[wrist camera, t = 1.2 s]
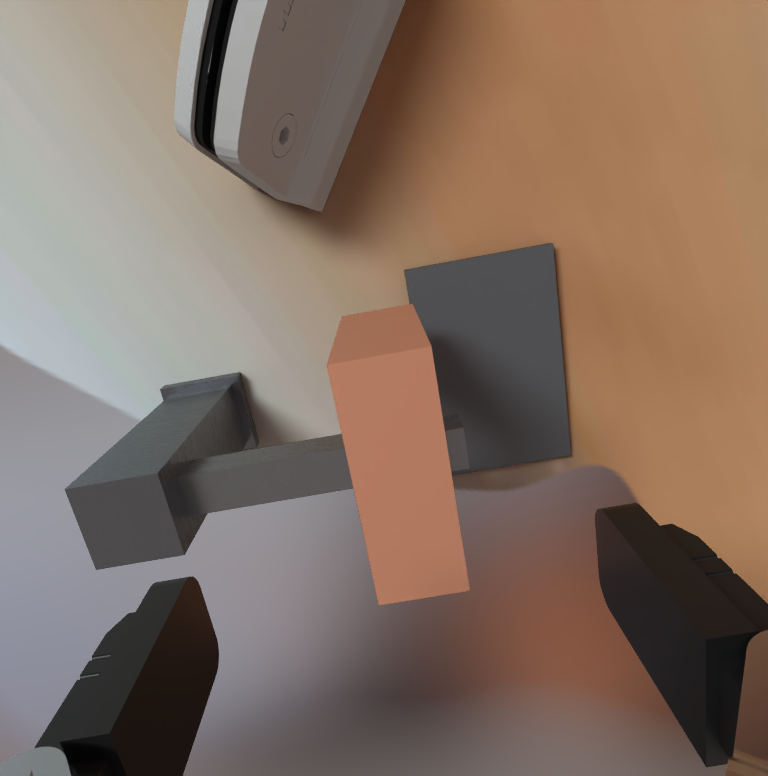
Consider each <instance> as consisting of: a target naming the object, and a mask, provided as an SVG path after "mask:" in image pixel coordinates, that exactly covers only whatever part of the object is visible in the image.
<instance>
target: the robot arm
mask: <svg viewBox="0 0 768 776" xmlns="http://www.w3.org/2000/svg"><path fill="white" fill-rule="evenodd" d="M595 526H596V540H597V554H598V568H599V579H600V585H601V589H602V592H603V595H604V598H605V601H606V604H607V606H608V608H609V610H610V612H611V613H612V615H613V616H614V618H615V620H616V621H617V623H618V624H619V626H620V628H621V629H622V631H623V633H624V634H625V636H626V637H627V639H628V641H629V642H630V644H631V646H632V647H633V649H634V651H635V652H636V654H637V655H638V657H639V659H640V660H641V662H642V664H643V665H644V667H645V668H646V670H647V672H648V673H649V675H650V677H651V678H652V680H653V681H654V683H655V685H656V686H657V688H658V690H659V691H660V693H661V694H662V696H663V698H664V699H665V701H666V702H667V704H668V705H669V707H670V709H671V711H672V712H673V714H674V716H675V717H676V719H677V720H678V722H679V724H680V725H681V727H682V728H683V730H684V732H685V733H686V735H687V737H688V738H689V740H690V741H691V743H692V745H693V746H694V748H695V750H696V751H697V753H698V755H699V756H700V757H701V759H702V761H703V762H704V764H705V766H706V767H711V766H717V765H723V764H728V765H727V770H726V776H768V604H767V603H766V602H765V601H764V600H763V599H762V598H761V597H760V596H759V595H758V594H757V593H756V592H755V591H754V590H753V589H752V588H751V587H750V586H749V585H748V584H747V583H746V582H745V581H744V580H742V579H741V578H740V577H739V576H738V575H737V574H734V573H733V571H732V569H731V568H730V567H729V566H728V565H727V564H726V563H725V562H724V561H723V560H722V559H721V558H719V559H718V557H717V554H716V553H715V552H713V551H712V550H711V549H710V548H709V547H708V546H707V545H706V544H705V543H704V542H703V541H702V540H701V539H700V538H699V537H698V536H696V535H693V534H691V533H689V532H687V531H685V530H683V529H681V528H679V527H677V526H675V525H673V524H668V525H662V526H659V525H658V523H657V522H656V521H655V520H654V519H653V518H652V517H651V516H650V515H649V514H648V513H647V512H646V511H645V510H644V509H643V508H642V507H641V506H640V505H639V504H637V503H632V504H627V505H620V506H614V507H608V508H602V509H598V510H597V511H596V514H595ZM218 662H219V649H218V642H217V638H216V635H215V631H214V628H213V625H212V622H211V619H210V616H209V613H208V610H207V606H206V603H205V600H204V597H203V594H202V591H201V588H200V585H199V583H198V581H197V580H196V579H195V578H194V577H186V578H180V579H174V580H168V581H162V582H156V583H154V584H153V585H152V586H151V587H150V589H149V590H148V592H147V594H146V595H145V597H144V599H143V601H142V602H141V604H140V606H139V608H138V609H137V611H136V612H134V613H129V614H127V615H126V616H125V617H124V618H123V619H122V620H121V621H120V622H119V623H118V624H116V625H115V626H114V627H113V628H112V629H111V630H110V631H109V632H108V633H107V634H106V635H105V637H104V638H103V640H102V641H101V643H100V644H99V646H98V648H97V649H96V651H95V652H94V654H93V656H92V661H89V662H88V664H87V665H86V667H85V668H84V670H83V671H82V673H81V675H80V680H77V681H76V683H75V684H74V686H73V688H72V689H71V691H70V692H69V694H68V695H67V697H66V698H65V700H64V702H63V703H62V705H61V706H60V708H59V710H58V711H57V713H56V714H55V716H54V718H53V719H52V721H51V722H50V724H49V725H48V727H47V729H46V730H45V732H44V733H43V735H42V737H41V738H40V740H39V741H38V743H37V745H36V746H35V748H34V749H31V750H28V751H25V752H23V753H20V754H18V755H16V756H14V757H12V758H10V759H8V760H7V761H5V762H4V763H2V764H1V765H0V776H183V773H184V770H185V767H186V764H187V761H188V758H189V755H190V752H191V749H192V746H193V743H194V740H195V737H196V734H197V731H198V728H199V725H200V722H201V719H202V716H203V713H204V710H205V707H206V704H207V701H208V698H209V695H210V692H211V689H212V686H213V683H214V680H215V676H216V674H217V669H218Z"/></svg>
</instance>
